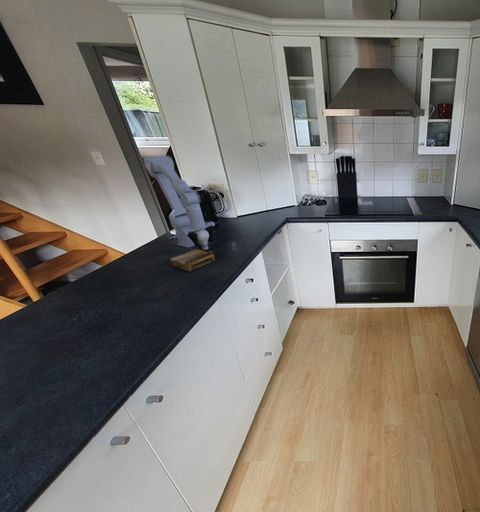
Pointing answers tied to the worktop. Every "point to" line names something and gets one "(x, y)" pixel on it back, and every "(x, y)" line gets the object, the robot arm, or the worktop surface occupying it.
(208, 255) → the wooden pallet
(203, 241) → the lightbulb
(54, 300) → the worktop surface
